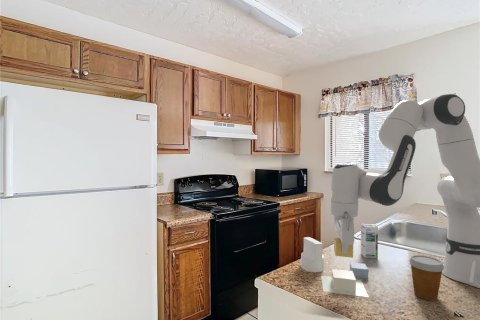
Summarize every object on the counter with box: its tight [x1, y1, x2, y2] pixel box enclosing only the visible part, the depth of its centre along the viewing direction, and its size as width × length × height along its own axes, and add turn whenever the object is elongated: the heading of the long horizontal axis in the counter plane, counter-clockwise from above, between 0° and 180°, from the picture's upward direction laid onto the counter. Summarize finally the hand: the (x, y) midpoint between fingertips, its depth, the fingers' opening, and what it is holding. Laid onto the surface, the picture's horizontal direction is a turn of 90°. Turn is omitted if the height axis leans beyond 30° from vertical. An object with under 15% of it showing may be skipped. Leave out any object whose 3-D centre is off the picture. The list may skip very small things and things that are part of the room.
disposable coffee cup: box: [408, 254, 444, 302], centre depth 88 cm, size 10×10×12 cm
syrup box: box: [360, 223, 379, 259], centre depth 124 cm, size 6×6×14 cm
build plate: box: [320, 275, 370, 298], centre depth 92 cm, size 14×12×1 cm
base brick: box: [331, 268, 357, 292], centre depth 92 cm, size 7×7×4 cm
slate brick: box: [349, 261, 369, 279], centre depth 101 cm, size 6×6×4 cm
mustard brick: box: [333, 237, 354, 259], centre depth 92 cm, size 6×6×4 cm
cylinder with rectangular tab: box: [300, 236, 325, 273], centre depth 107 cm, size 9×9×12 cm
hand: (343, 249), depth 92 cm, fingers closed on mustard brick, 5 cm apart
